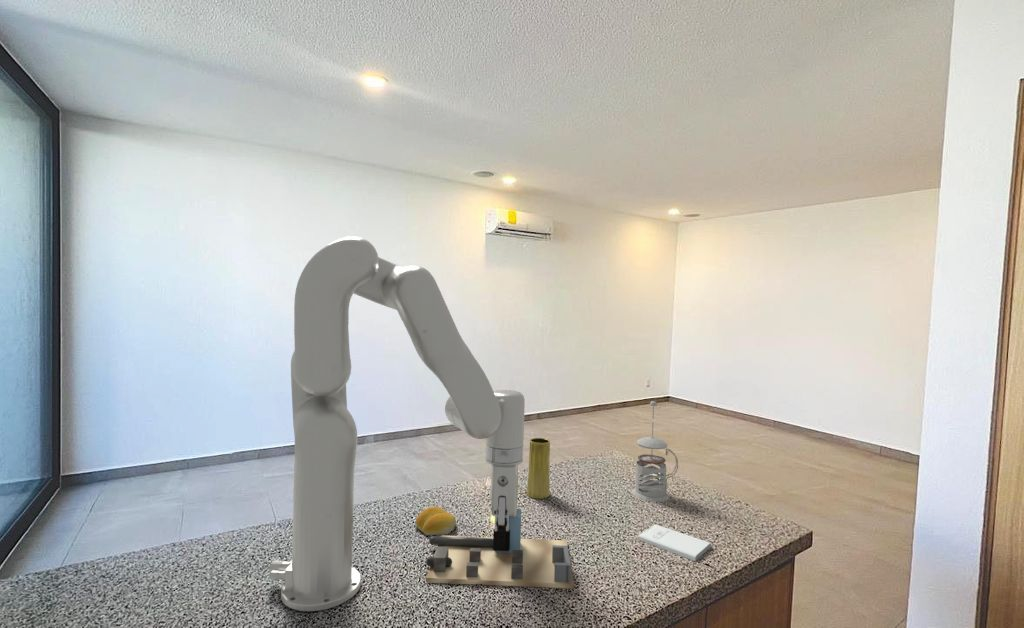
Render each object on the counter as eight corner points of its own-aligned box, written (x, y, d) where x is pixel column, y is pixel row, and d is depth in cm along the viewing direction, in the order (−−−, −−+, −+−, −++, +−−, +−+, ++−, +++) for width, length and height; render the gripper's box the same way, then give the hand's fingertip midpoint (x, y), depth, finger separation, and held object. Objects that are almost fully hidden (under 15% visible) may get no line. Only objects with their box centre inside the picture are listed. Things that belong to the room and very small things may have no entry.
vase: (550, 499, 124) (552, 443, 124) (526, 498, 124) (528, 443, 124) (549, 490, 130) (550, 437, 130) (526, 489, 131) (527, 436, 130)
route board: (421, 582, 85) (421, 563, 85) (437, 539, 101) (437, 522, 101) (573, 588, 85) (574, 569, 85) (565, 544, 101) (566, 527, 101)
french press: (629, 486, 135) (632, 396, 135) (672, 489, 134) (675, 399, 133) (633, 500, 126) (636, 403, 125) (680, 503, 124) (683, 406, 124)
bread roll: (431, 541, 101) (432, 522, 101) (410, 526, 108) (410, 508, 108) (464, 530, 106) (464, 512, 106) (441, 516, 113) (442, 499, 113)
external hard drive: (695, 564, 95) (637, 542, 104) (711, 550, 101) (655, 530, 110) (695, 556, 95) (638, 534, 104) (711, 542, 101) (655, 522, 110)
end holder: (554, 581, 85) (554, 564, 85) (552, 560, 92) (552, 545, 92) (570, 582, 85) (570, 565, 85) (566, 561, 92) (567, 545, 92)
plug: (427, 549, 96) (428, 513, 95) (430, 539, 99) (431, 505, 99) (520, 553, 95) (521, 517, 95) (520, 543, 99) (521, 509, 99)
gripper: (523, 467, 88) (520, 567, 89) (523, 442, 105) (520, 526, 105) (482, 466, 89) (479, 565, 89) (488, 441, 105) (486, 524, 106)
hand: (501, 543), depth 97 cm, fingers closed on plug, 4 cm apart
